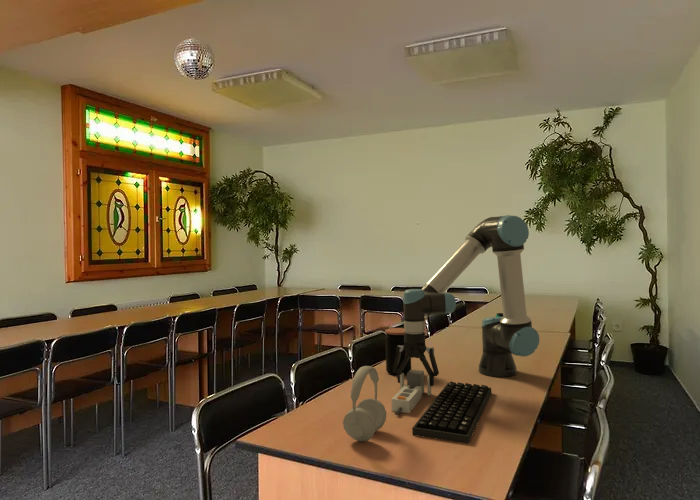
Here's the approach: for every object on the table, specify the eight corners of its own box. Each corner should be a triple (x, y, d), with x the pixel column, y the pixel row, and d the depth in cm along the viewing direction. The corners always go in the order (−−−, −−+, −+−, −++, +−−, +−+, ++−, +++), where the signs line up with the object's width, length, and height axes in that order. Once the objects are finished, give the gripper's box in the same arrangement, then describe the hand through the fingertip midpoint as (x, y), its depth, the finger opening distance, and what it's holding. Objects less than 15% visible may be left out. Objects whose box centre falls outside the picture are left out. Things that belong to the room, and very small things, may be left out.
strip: (421, 397, 166) (421, 384, 166) (405, 417, 148) (405, 403, 148) (405, 395, 169) (405, 383, 169) (387, 415, 150) (387, 401, 150)
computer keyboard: (468, 445, 128) (468, 431, 128) (412, 437, 135) (412, 423, 135) (491, 395, 169) (491, 384, 169) (447, 390, 176) (447, 380, 176)
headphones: (362, 421, 145) (361, 357, 145) (391, 425, 142) (389, 360, 141) (338, 447, 128) (336, 374, 128) (369, 452, 125) (368, 377, 124)
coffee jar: (410, 376, 192) (409, 332, 192) (384, 375, 195) (383, 332, 194) (412, 369, 203) (411, 328, 203) (387, 368, 205) (386, 327, 205)
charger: (424, 392, 172) (423, 370, 172) (418, 400, 164) (417, 377, 164) (411, 391, 174) (410, 369, 174) (404, 398, 166) (403, 376, 166)
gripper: (447, 331, 169) (448, 393, 170) (388, 328, 178) (390, 387, 178) (442, 335, 162) (443, 399, 163) (382, 332, 171) (383, 393, 171)
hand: (415, 393), depth 171 cm, fingers open, 9 cm apart
